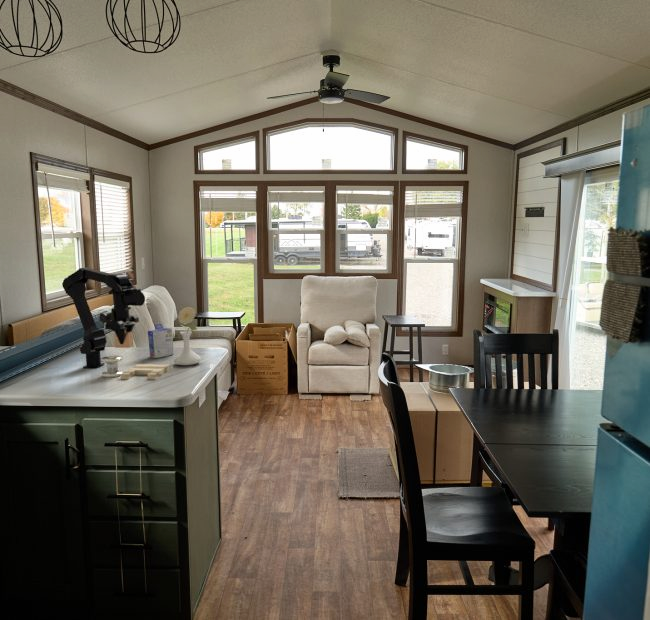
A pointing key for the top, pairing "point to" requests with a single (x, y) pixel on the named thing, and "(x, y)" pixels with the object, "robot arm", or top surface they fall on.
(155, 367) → the notched board
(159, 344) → the ink cartridge box
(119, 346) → the wooden block
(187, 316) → the flower in vase
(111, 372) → the bobbin
